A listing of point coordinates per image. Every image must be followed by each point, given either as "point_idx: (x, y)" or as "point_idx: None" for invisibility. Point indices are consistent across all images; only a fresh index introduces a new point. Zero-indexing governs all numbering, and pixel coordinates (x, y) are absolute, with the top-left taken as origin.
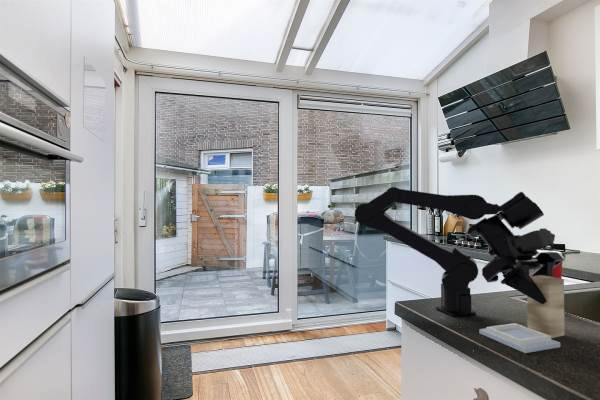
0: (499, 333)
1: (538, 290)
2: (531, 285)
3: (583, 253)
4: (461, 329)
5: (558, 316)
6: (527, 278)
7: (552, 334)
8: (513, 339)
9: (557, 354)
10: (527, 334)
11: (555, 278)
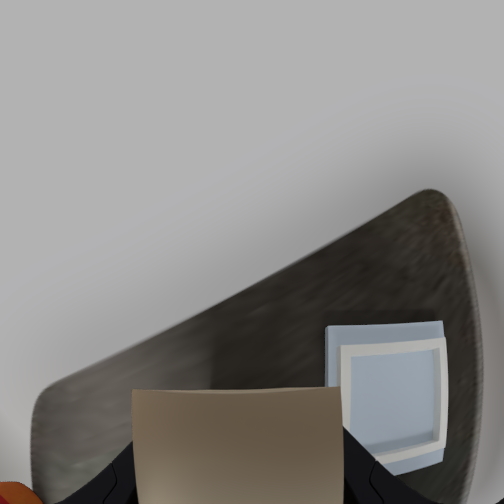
0: (446, 402)
1: (343, 439)
2: (380, 465)
3: None
4: (448, 486)
5: (236, 390)
6: (405, 497)
7: (272, 388)
8: (444, 358)
9: (374, 297)
10: (358, 405)
11: (167, 439)
